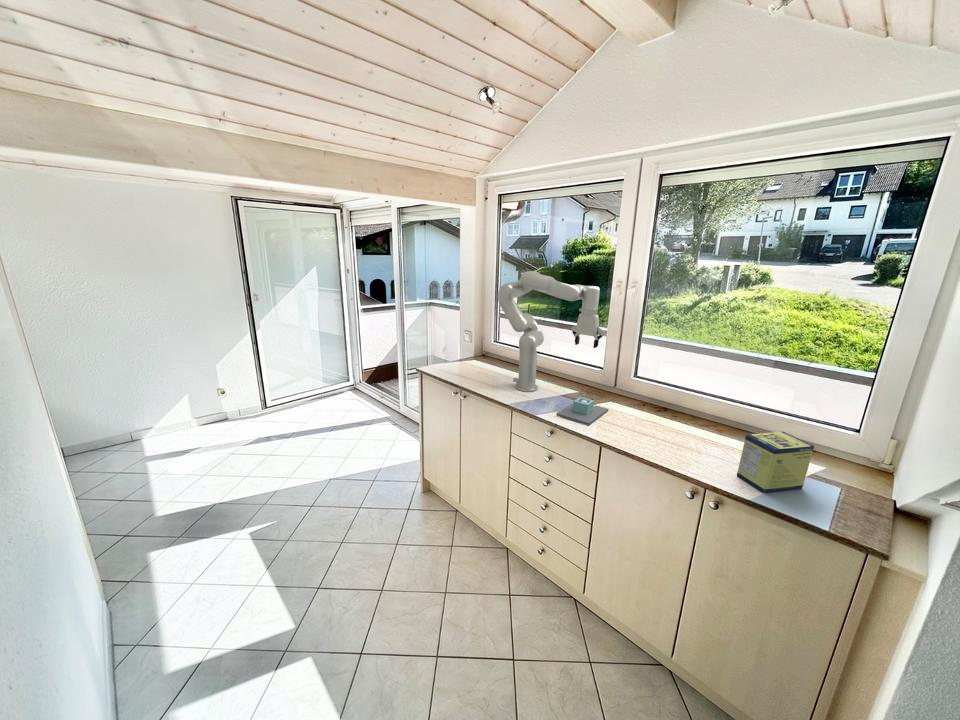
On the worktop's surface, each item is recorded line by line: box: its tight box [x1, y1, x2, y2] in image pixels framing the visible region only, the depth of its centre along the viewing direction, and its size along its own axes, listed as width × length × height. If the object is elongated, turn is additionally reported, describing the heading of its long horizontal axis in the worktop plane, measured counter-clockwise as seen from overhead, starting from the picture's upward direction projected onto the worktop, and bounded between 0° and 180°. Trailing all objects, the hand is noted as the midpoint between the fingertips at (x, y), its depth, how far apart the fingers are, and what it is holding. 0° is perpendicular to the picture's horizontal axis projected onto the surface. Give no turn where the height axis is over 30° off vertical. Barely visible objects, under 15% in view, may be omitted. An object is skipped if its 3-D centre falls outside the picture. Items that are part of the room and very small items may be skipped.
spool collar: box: [572, 396, 595, 415], centre depth 175 cm, size 7×7×5 cm
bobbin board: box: [555, 400, 609, 426], centre depth 175 cm, size 16×22×6 cm
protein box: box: [736, 431, 815, 494], centre depth 122 cm, size 10×16×16 cm
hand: (586, 345), depth 187 cm, fingers open, 9 cm apart
